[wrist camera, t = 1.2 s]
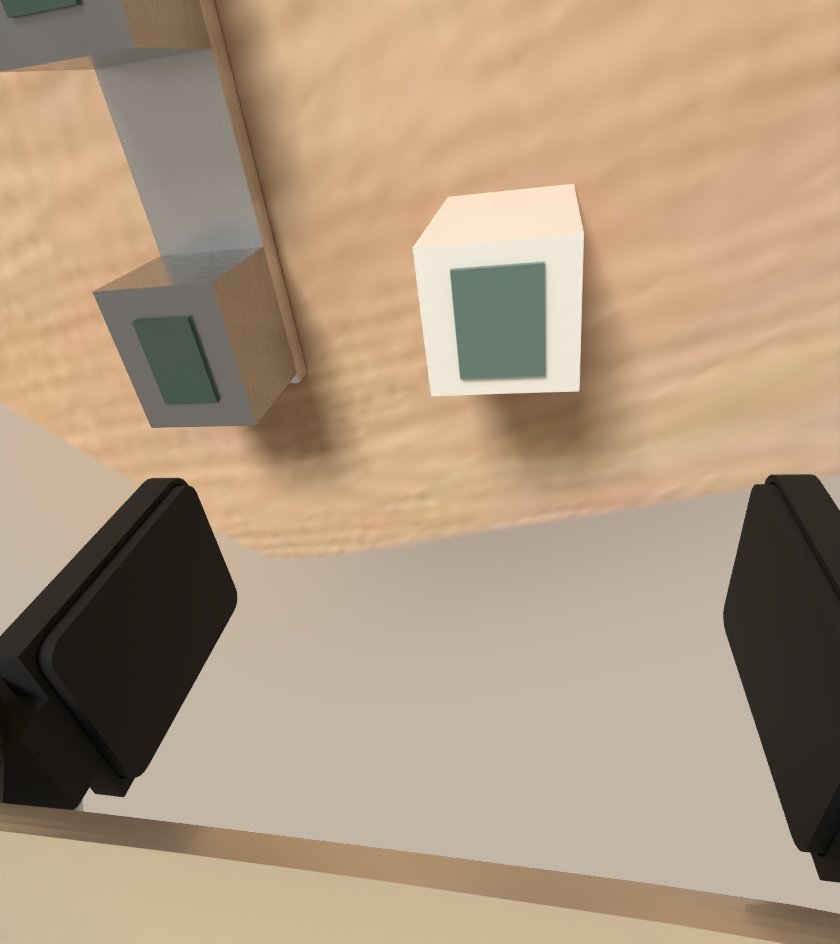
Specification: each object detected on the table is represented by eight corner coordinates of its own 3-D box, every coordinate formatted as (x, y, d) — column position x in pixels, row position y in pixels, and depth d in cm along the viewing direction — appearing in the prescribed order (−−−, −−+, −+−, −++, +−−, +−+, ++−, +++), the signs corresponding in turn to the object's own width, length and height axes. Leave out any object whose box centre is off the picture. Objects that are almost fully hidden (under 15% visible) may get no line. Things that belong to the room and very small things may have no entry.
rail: (164, -197, 19) (23, -291, 14) (307, 372, 30) (257, 438, 25) (34, -162, 20) (-142, -236, 15) (218, 376, 31) (153, 439, 26)
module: (573, 184, 23) (584, 234, 17) (571, 308, 26) (579, 393, 19) (447, 196, 24) (411, 249, 18) (458, 314, 27) (430, 398, 21)
